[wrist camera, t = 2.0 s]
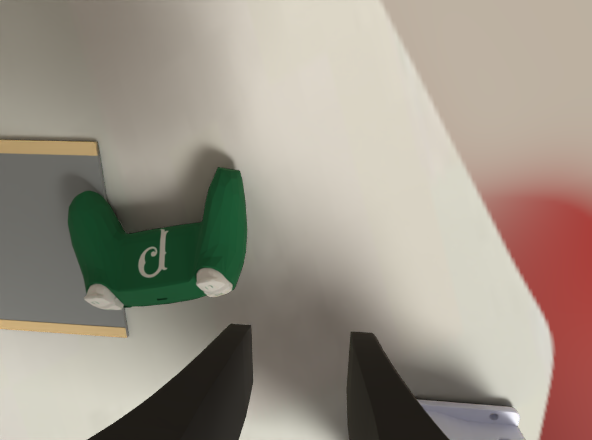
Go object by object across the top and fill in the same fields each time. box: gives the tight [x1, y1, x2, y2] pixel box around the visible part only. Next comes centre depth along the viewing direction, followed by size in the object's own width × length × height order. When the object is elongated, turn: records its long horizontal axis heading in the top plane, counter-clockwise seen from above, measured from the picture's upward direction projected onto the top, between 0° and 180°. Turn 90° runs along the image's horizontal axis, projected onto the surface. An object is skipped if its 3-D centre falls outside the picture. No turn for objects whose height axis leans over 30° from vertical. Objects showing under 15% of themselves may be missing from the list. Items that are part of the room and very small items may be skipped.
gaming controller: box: [68, 167, 247, 310], centre depth 18 cm, size 9×4×6 cm
